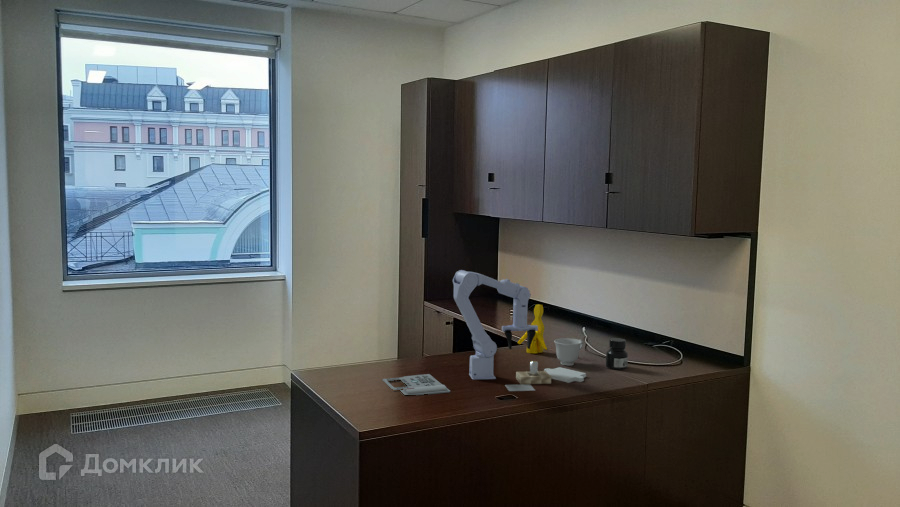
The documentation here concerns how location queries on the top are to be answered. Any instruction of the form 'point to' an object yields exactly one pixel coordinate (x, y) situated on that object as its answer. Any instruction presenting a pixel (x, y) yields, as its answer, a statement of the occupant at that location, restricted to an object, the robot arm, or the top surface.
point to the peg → (533, 368)
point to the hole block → (533, 378)
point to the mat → (520, 387)
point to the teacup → (568, 350)
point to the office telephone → (419, 385)
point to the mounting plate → (565, 374)
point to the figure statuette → (538, 339)
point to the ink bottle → (617, 354)
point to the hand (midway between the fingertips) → (519, 348)
